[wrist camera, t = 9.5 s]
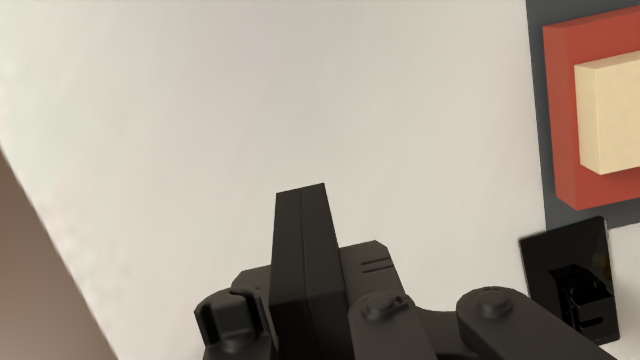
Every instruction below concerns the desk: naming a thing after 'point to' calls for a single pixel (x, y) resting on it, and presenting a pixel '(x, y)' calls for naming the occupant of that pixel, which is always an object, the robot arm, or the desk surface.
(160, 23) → the desk surface
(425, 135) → the desk surface
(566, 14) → the mat
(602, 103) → the toy car
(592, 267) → the black angular block
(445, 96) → the desk surface
